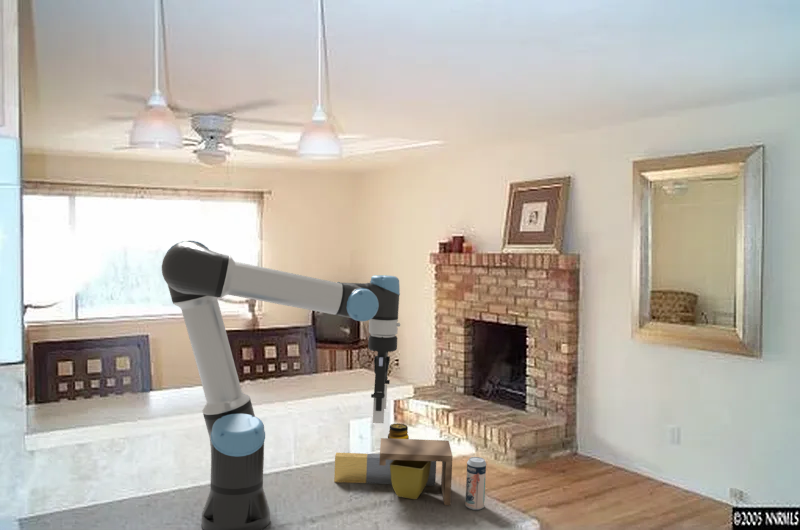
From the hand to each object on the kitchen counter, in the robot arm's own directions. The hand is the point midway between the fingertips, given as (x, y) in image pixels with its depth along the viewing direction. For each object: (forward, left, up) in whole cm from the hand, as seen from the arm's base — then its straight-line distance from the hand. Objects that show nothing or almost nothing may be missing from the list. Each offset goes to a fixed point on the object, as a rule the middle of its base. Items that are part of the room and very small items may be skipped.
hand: (379, 415), depth 175 cm
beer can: (+25, -11, -19) cm, 33 cm away
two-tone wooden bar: (+2, +4, -19) cm, 20 cm away
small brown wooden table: (+10, -4, -19) cm, 22 cm away
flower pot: (+9, -5, -19) cm, 22 cm away
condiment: (+5, +15, -19) cm, 25 cm away
